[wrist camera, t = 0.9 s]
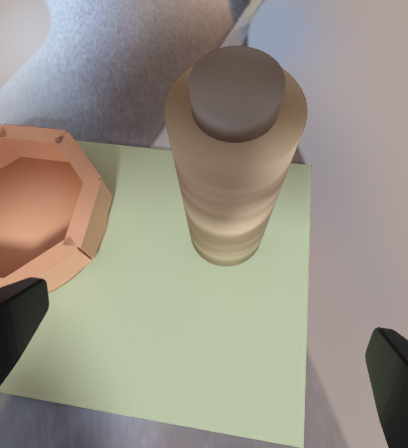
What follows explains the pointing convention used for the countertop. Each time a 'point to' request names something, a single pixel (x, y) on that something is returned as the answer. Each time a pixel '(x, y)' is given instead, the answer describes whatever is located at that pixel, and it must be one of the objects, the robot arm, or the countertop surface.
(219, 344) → the mat
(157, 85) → the countertop surface
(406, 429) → the robot arm
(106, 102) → the countertop surface
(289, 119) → the pepper mill
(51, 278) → the octagonal ashtray
